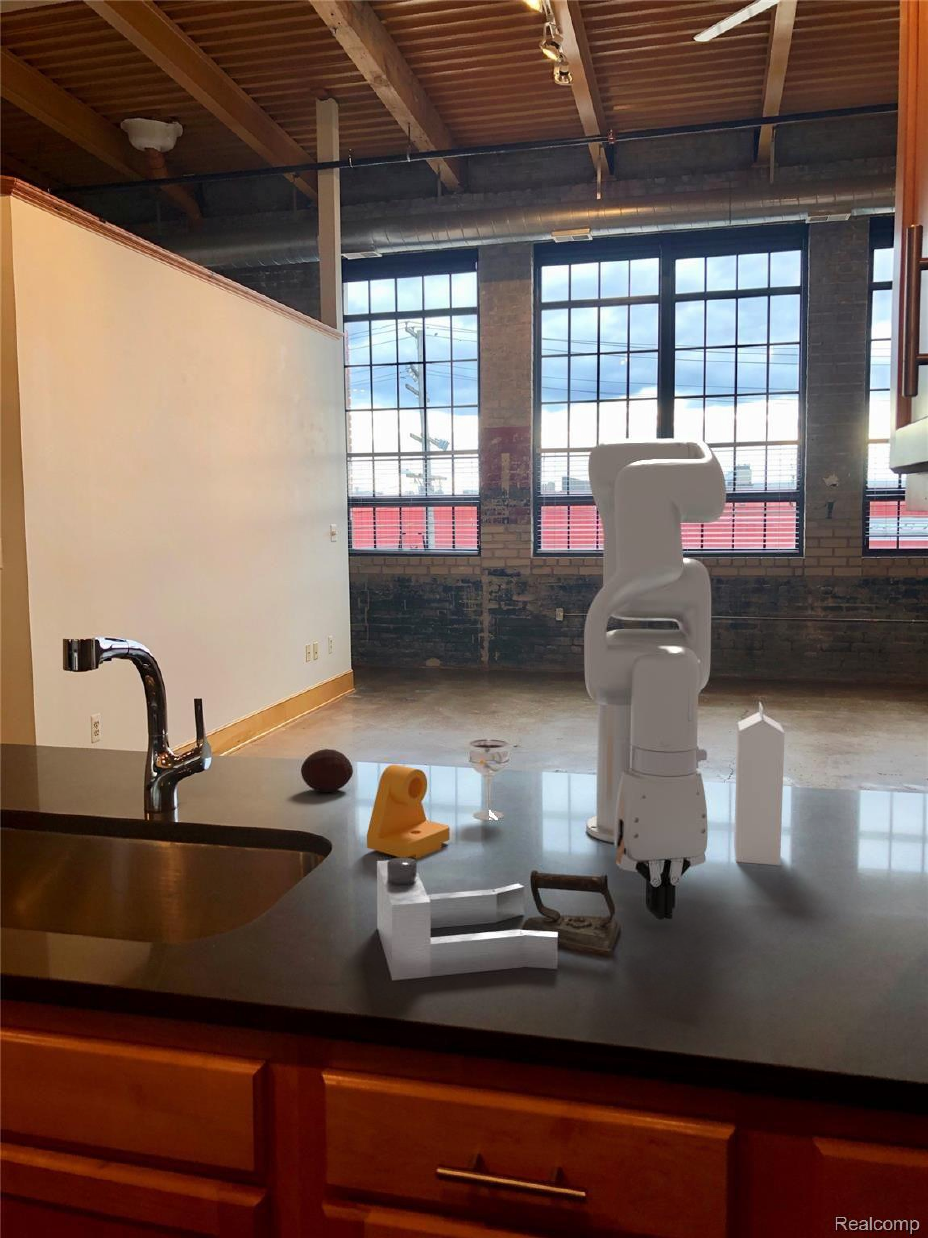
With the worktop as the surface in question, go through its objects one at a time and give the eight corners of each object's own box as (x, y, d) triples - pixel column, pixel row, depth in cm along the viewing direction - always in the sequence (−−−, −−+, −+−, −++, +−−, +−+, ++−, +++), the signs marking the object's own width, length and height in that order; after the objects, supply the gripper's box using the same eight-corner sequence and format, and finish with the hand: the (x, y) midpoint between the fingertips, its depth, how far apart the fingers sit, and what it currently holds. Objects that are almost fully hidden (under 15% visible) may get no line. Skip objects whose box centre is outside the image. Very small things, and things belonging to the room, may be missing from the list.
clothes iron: (618, 963, 98) (596, 878, 97) (520, 971, 102) (498, 889, 101) (627, 931, 105) (606, 850, 104) (535, 939, 109) (514, 861, 108)
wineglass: (465, 821, 146) (465, 747, 145) (469, 808, 153) (470, 738, 152) (507, 822, 146) (508, 749, 144) (510, 810, 152) (510, 739, 151)
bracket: (404, 864, 127) (403, 780, 126) (366, 853, 131) (366, 772, 130) (452, 844, 135) (452, 765, 134) (415, 834, 140) (415, 758, 139)
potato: (301, 786, 167) (300, 745, 166) (352, 784, 168) (351, 743, 168) (301, 798, 159) (300, 755, 158) (354, 796, 160) (354, 753, 160)
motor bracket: (521, 911, 111) (521, 831, 110) (560, 968, 96) (561, 877, 95) (376, 923, 107) (375, 841, 106) (393, 986, 92) (393, 890, 91)
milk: (735, 862, 128) (739, 708, 126) (733, 848, 134) (736, 700, 132) (781, 866, 126) (785, 710, 124) (777, 851, 132) (781, 702, 130)
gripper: (707, 750, 110) (703, 897, 111) (590, 756, 107) (588, 907, 108) (738, 765, 103) (734, 922, 104) (614, 772, 99) (611, 934, 101)
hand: (660, 914), depth 106 cm, fingers closed
